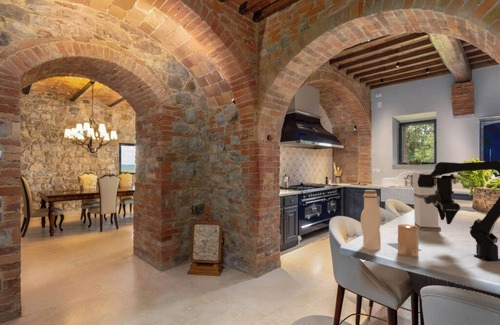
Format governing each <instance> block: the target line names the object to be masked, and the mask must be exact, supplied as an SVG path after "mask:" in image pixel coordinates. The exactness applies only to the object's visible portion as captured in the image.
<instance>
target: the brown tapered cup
mask: <svg viewBox="0 0 500 325" xmlns="http://www.w3.org/2000/svg"><path fill="white" fill-rule="evenodd" d="M397 243H398V249H397V253H398V255H400V256H403V257H407V258H418V257H419V251H418V249H419V229H418V227H417V226H415V224H408V223H401V224H398V225H397Z"/></svg>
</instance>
